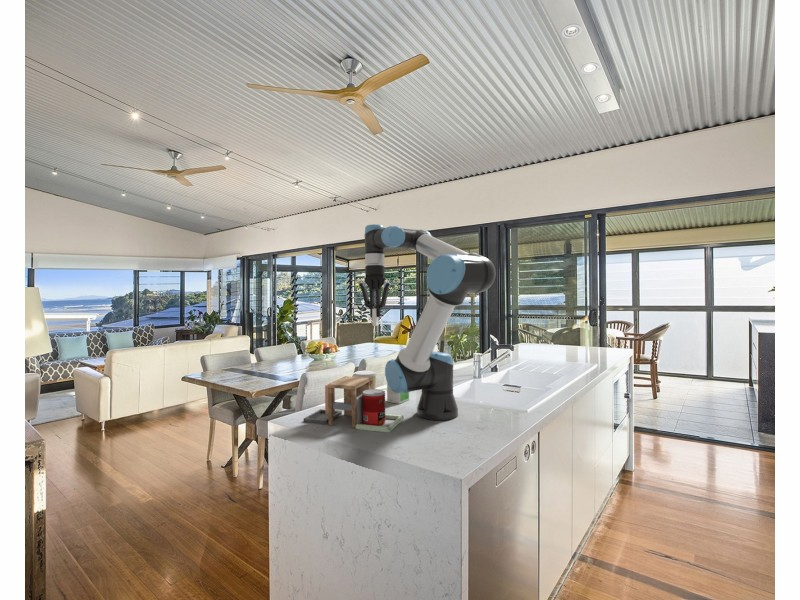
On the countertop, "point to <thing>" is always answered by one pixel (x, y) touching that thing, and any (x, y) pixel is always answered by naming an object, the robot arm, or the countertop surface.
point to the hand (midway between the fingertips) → (375, 325)
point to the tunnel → (348, 395)
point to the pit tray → (321, 417)
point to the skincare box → (396, 396)
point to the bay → (381, 428)
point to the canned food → (373, 407)
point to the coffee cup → (367, 375)
